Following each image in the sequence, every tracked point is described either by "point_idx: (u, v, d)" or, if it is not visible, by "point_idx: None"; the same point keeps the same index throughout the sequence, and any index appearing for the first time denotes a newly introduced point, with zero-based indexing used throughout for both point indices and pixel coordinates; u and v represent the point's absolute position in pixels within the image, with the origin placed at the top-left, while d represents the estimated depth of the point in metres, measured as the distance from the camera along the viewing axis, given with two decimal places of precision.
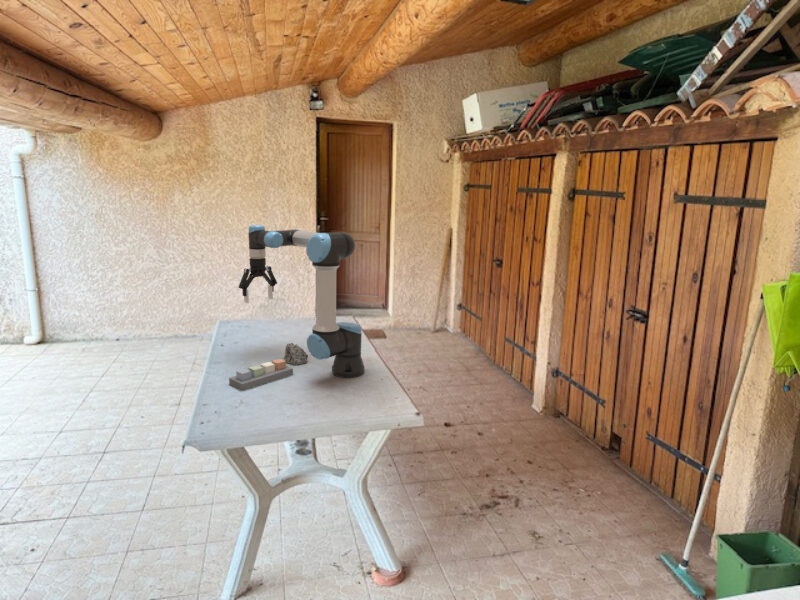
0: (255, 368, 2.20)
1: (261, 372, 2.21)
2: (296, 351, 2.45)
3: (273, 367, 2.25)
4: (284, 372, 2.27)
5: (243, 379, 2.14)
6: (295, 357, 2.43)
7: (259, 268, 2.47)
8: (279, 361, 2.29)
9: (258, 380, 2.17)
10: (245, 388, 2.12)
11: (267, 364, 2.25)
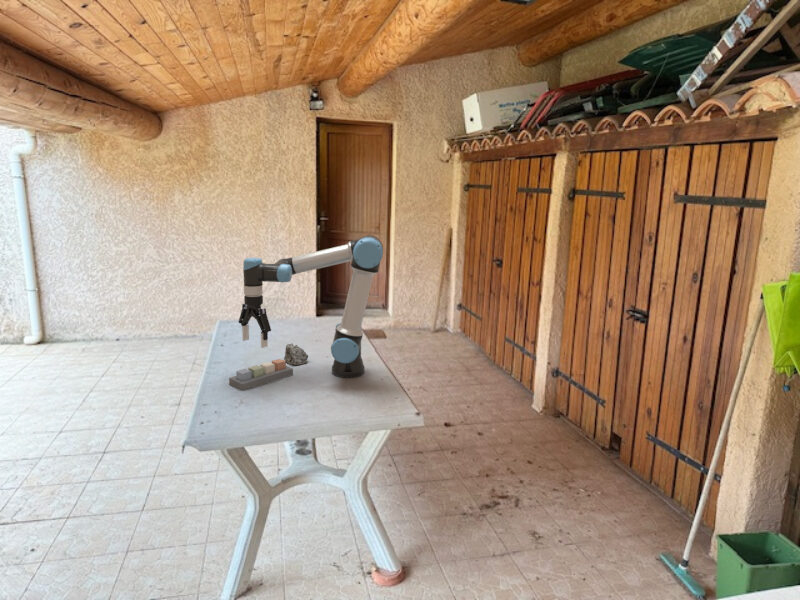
0: (255, 368, 2.20)
1: (261, 372, 2.21)
2: (296, 351, 2.45)
3: (273, 367, 2.25)
4: (284, 372, 2.27)
5: (243, 379, 2.14)
6: (295, 357, 2.43)
7: (251, 307, 2.15)
8: (279, 361, 2.29)
9: (258, 380, 2.17)
10: (245, 388, 2.12)
11: (267, 364, 2.25)
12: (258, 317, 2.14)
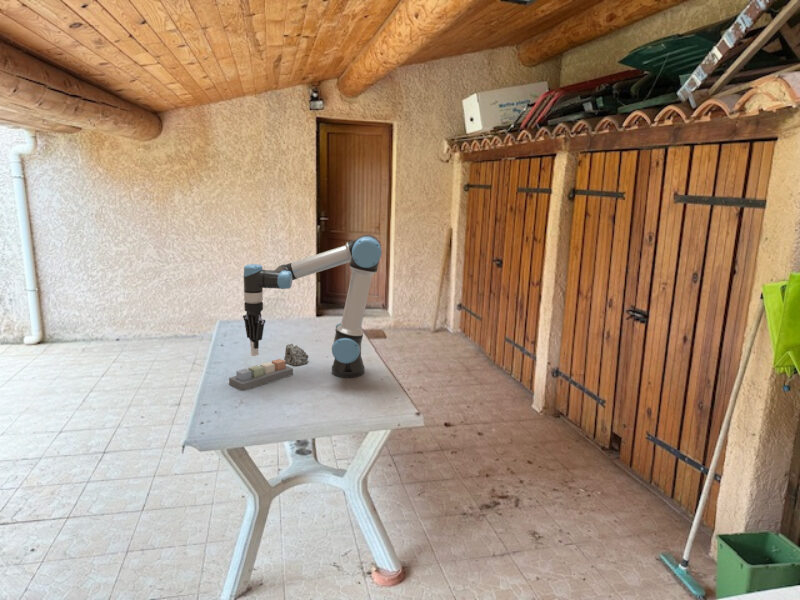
0: (255, 368, 2.20)
1: (261, 372, 2.21)
2: (296, 352, 2.44)
3: (273, 367, 2.25)
4: (284, 372, 2.27)
5: (243, 379, 2.14)
6: (295, 357, 2.42)
7: (251, 314, 2.15)
8: (279, 361, 2.29)
9: (258, 380, 2.17)
10: (245, 388, 2.12)
11: (267, 364, 2.25)
12: (255, 325, 2.15)
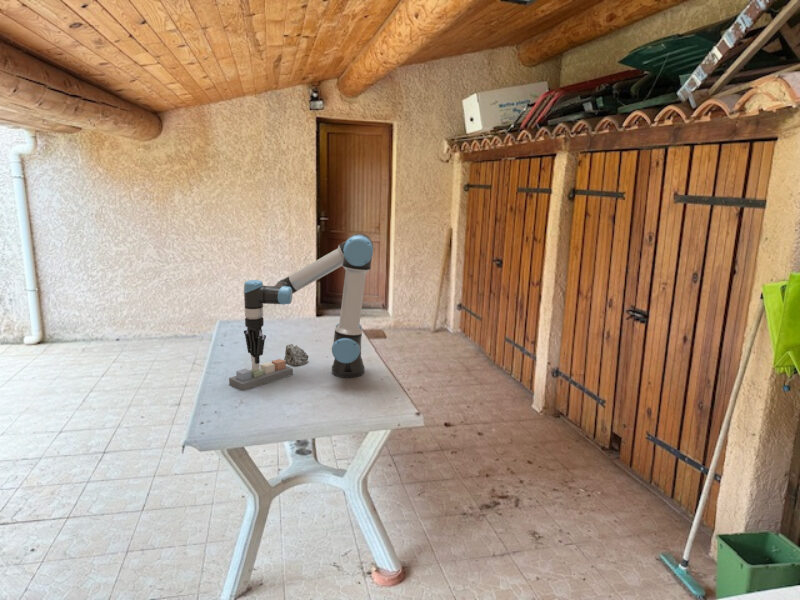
0: (255, 371, 2.20)
1: (261, 374, 2.21)
2: (297, 352, 2.44)
3: (273, 367, 2.25)
4: (284, 372, 2.27)
5: (243, 379, 2.14)
6: (295, 358, 2.42)
7: (252, 329, 2.16)
8: (279, 361, 2.29)
9: (258, 380, 2.17)
10: (245, 388, 2.12)
11: (267, 364, 2.25)
12: (256, 341, 2.16)
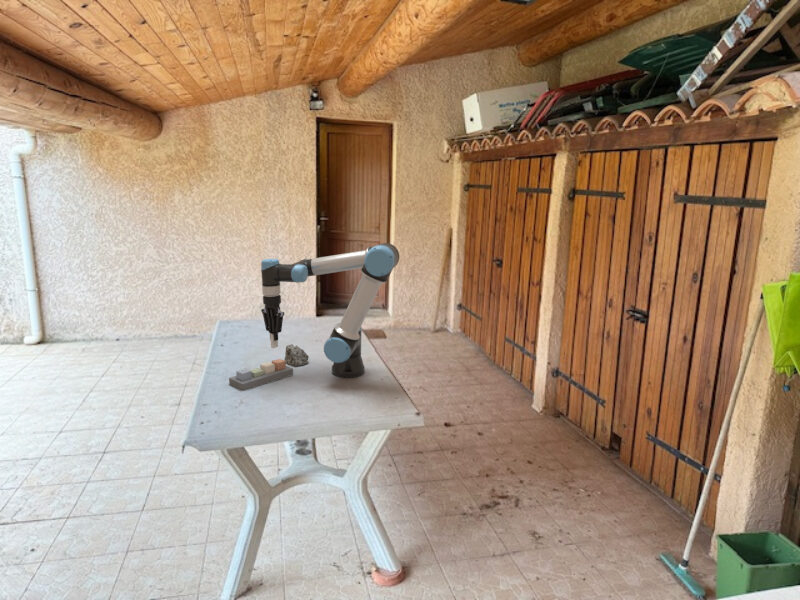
0: (255, 371, 2.20)
1: (261, 374, 2.21)
2: (297, 352, 2.44)
3: (273, 367, 2.25)
4: (284, 372, 2.27)
5: (243, 379, 2.14)
6: (296, 358, 2.42)
7: (270, 307, 2.21)
8: (279, 361, 2.29)
9: (258, 380, 2.17)
10: (245, 388, 2.12)
11: (267, 364, 2.25)
12: (274, 318, 2.21)
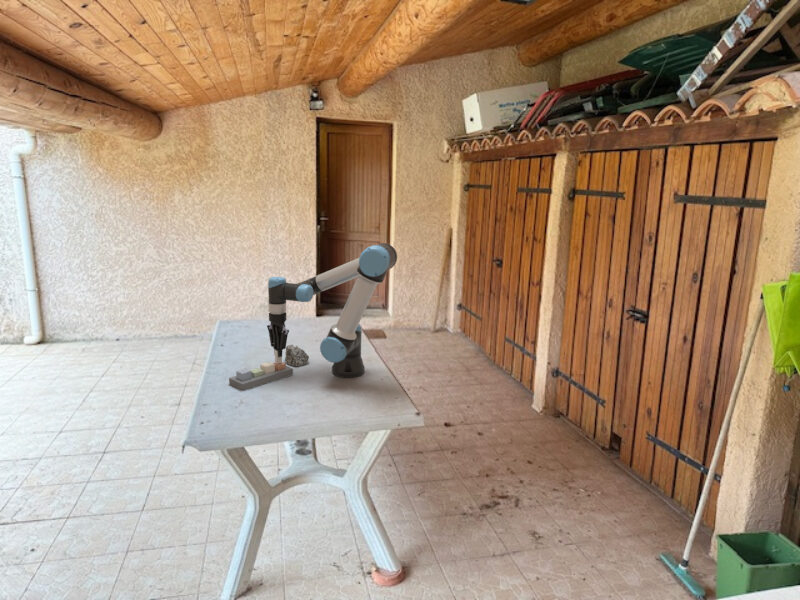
0: (255, 371, 2.20)
1: (261, 374, 2.21)
2: (297, 353, 2.43)
3: (273, 367, 2.25)
4: (284, 372, 2.27)
5: (243, 379, 2.14)
6: (296, 358, 2.41)
7: (276, 324, 2.25)
8: (279, 364, 2.30)
9: (258, 380, 2.17)
10: (245, 388, 2.12)
11: (267, 364, 2.25)
12: (279, 335, 2.26)
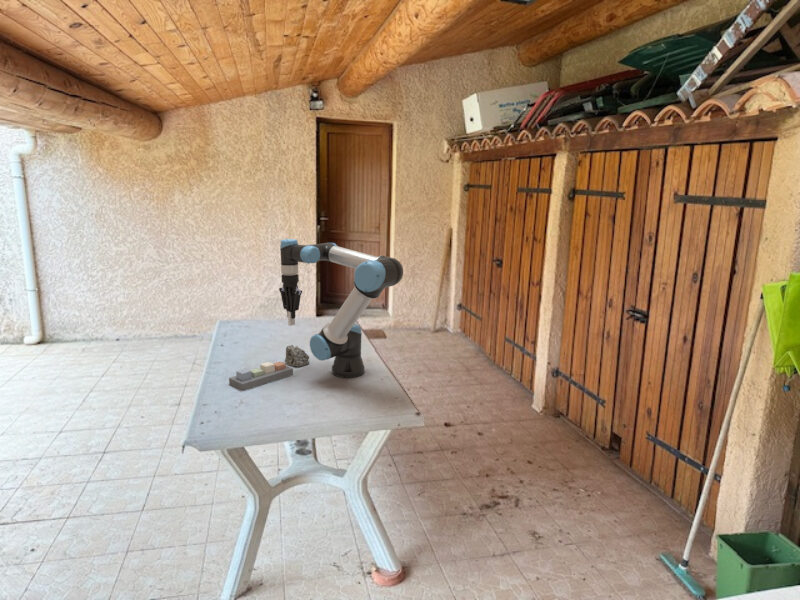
0: (255, 371, 2.20)
1: (261, 374, 2.21)
2: (297, 353, 2.43)
3: (273, 367, 2.25)
4: (284, 372, 2.27)
5: (243, 379, 2.14)
6: (297, 359, 2.41)
7: (288, 285, 2.29)
8: (279, 364, 2.30)
9: (258, 380, 2.17)
10: (245, 388, 2.12)
11: (267, 364, 2.25)
12: (292, 296, 2.30)
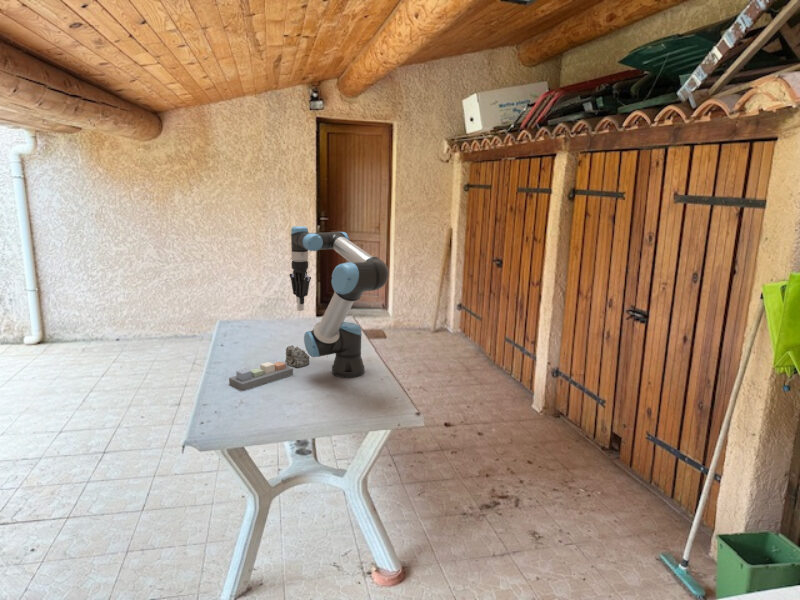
0: (255, 371, 2.20)
1: (261, 374, 2.21)
2: (298, 353, 2.42)
3: (273, 367, 2.25)
4: (284, 372, 2.27)
5: (243, 379, 2.14)
6: (297, 359, 2.40)
7: (298, 271, 2.35)
8: (279, 364, 2.30)
9: (258, 380, 2.17)
10: (245, 388, 2.12)
11: (267, 364, 2.25)
12: (301, 282, 2.35)
